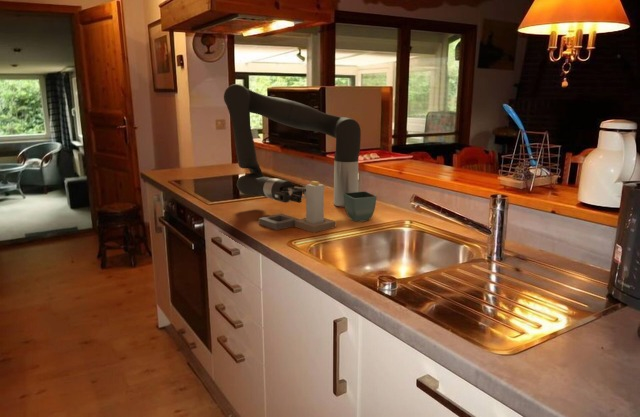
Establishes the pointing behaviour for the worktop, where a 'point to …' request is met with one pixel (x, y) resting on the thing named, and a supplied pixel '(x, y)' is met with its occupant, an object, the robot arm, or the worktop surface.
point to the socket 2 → (314, 225)
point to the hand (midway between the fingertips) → (310, 197)
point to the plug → (314, 202)
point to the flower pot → (359, 205)
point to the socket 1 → (277, 221)
